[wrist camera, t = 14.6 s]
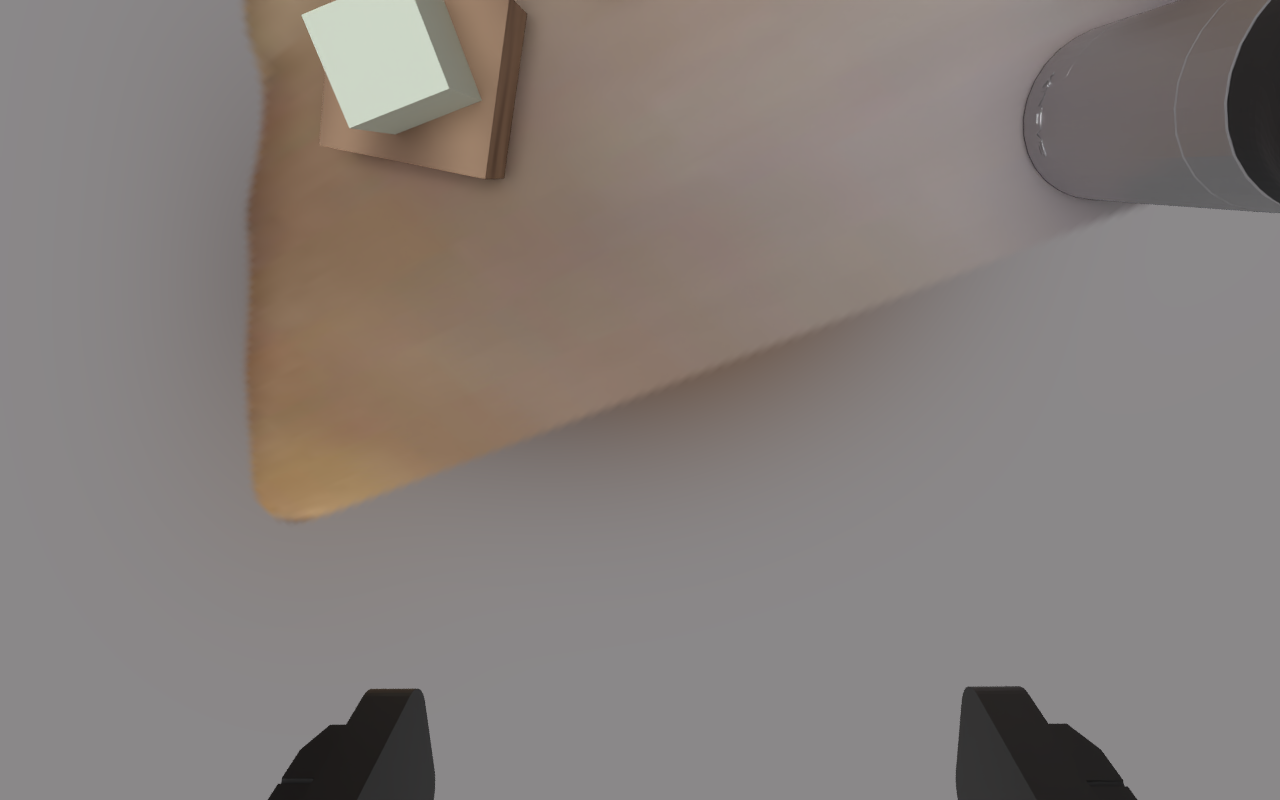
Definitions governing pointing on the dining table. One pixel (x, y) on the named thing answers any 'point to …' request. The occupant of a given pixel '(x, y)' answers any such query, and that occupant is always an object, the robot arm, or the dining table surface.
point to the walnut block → (466, 134)
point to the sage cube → (392, 61)
